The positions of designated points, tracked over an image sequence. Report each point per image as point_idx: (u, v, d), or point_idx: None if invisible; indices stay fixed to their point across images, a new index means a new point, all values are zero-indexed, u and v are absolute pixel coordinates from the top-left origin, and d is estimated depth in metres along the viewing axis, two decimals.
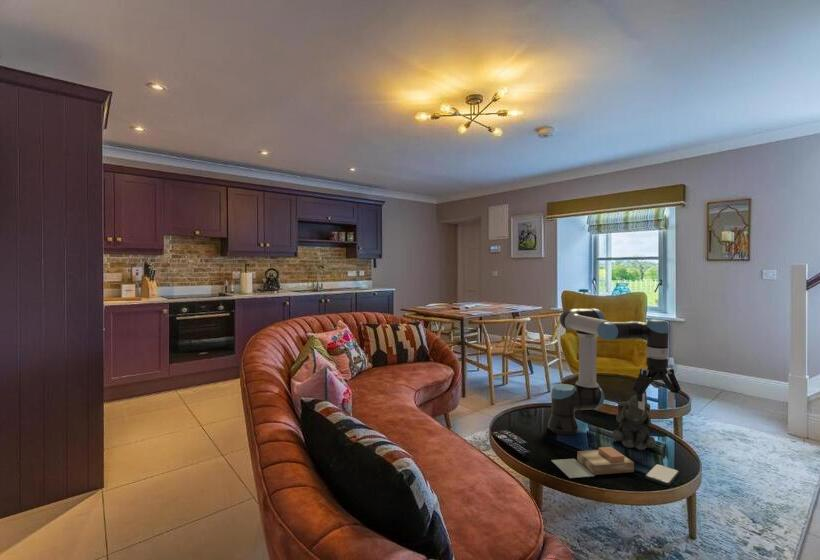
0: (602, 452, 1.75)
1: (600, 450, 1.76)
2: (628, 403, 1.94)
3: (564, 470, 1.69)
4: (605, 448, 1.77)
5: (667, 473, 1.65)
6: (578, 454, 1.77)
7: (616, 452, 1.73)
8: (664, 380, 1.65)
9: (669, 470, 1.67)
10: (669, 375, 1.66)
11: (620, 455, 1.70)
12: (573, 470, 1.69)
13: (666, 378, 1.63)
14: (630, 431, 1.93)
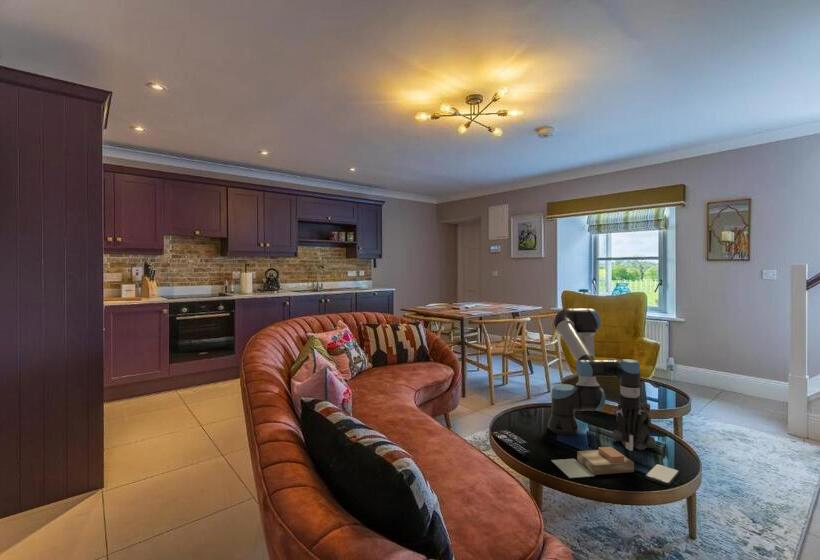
0: (602, 452, 1.75)
1: (600, 450, 1.76)
2: None
3: (564, 470, 1.69)
4: (605, 448, 1.77)
5: (667, 473, 1.65)
6: (578, 454, 1.77)
7: (616, 452, 1.73)
8: (631, 418, 1.74)
9: (669, 470, 1.67)
10: (637, 416, 1.75)
11: (620, 455, 1.70)
12: (573, 470, 1.69)
13: (635, 417, 1.73)
14: None
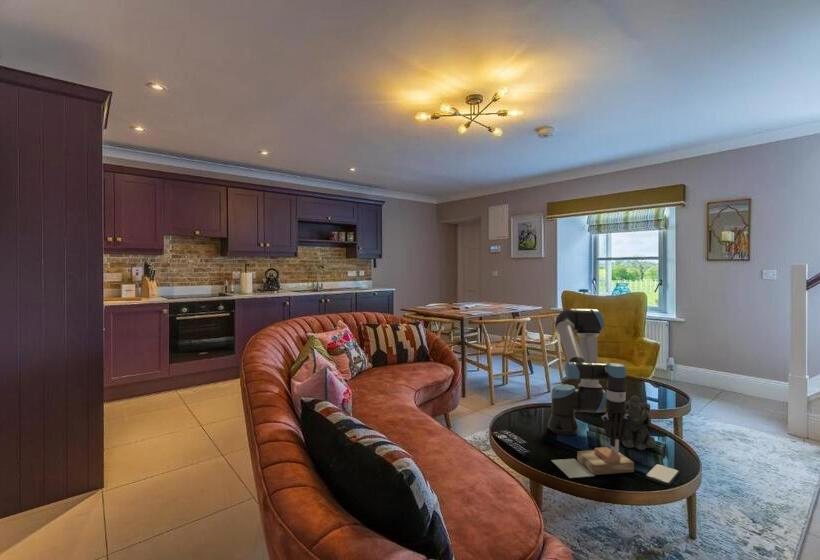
0: (598, 452, 1.74)
1: (596, 450, 1.76)
2: (628, 403, 1.94)
3: (564, 470, 1.69)
4: (601, 448, 1.76)
5: (667, 473, 1.65)
6: (578, 454, 1.77)
7: (612, 452, 1.73)
8: (617, 423, 1.73)
9: (669, 470, 1.67)
10: (623, 420, 1.75)
11: (616, 455, 1.70)
12: (573, 470, 1.69)
13: (620, 421, 1.72)
14: (630, 431, 1.93)
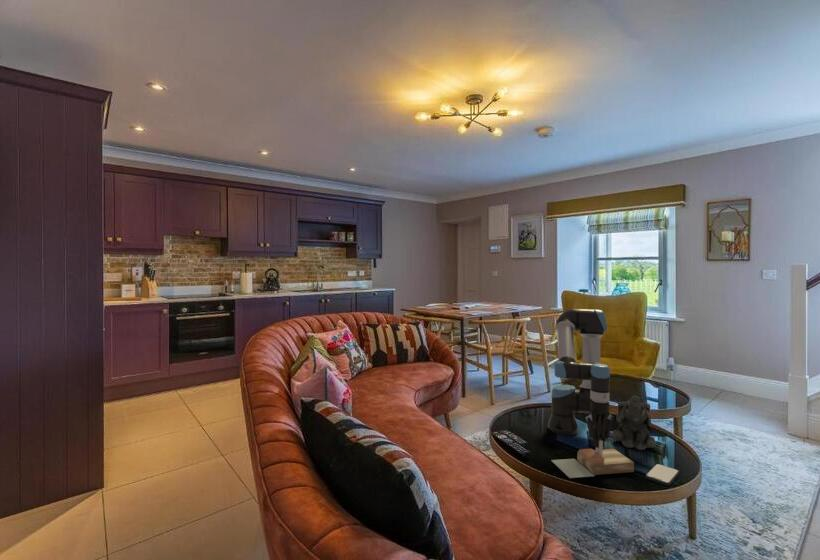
0: (582, 454, 1.73)
1: (580, 452, 1.74)
2: (628, 403, 1.94)
3: (564, 470, 1.69)
4: (585, 450, 1.75)
5: (667, 473, 1.65)
6: (578, 454, 1.77)
7: (596, 454, 1.71)
8: (601, 423, 1.72)
9: (669, 470, 1.68)
10: (607, 421, 1.73)
11: (600, 457, 1.68)
12: (573, 470, 1.69)
13: (604, 422, 1.71)
14: (630, 431, 1.93)
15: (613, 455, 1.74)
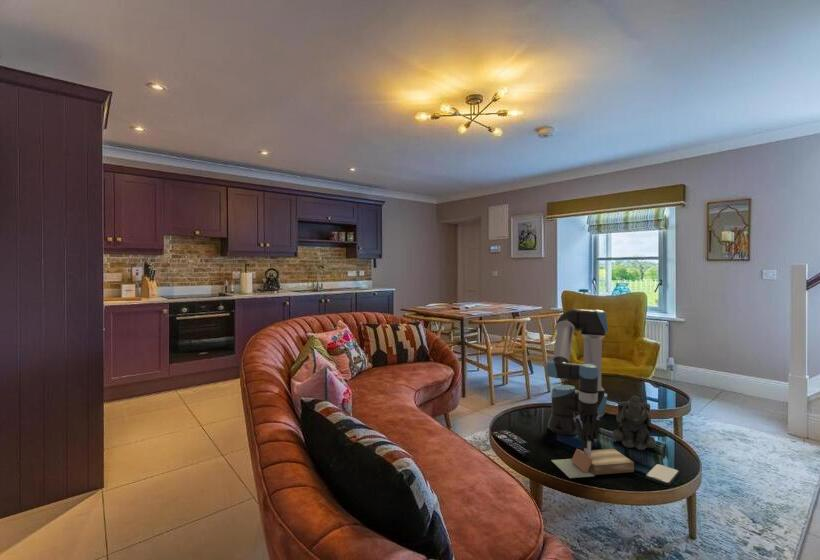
0: None
1: (574, 463, 1.74)
2: (628, 403, 1.94)
3: (564, 470, 1.69)
4: (575, 457, 1.74)
5: (667, 473, 1.65)
6: None
7: (582, 456, 1.70)
8: (589, 424, 1.71)
9: (669, 470, 1.68)
10: (596, 421, 1.73)
11: (586, 460, 1.67)
12: (573, 470, 1.69)
13: (592, 423, 1.70)
14: (630, 431, 1.93)
15: (613, 455, 1.74)
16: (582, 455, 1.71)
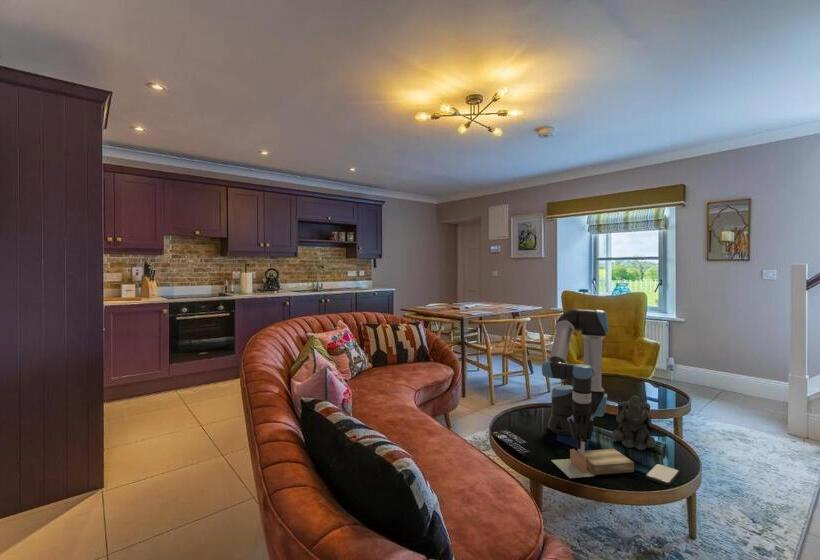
0: None
1: None
2: (628, 403, 1.94)
3: (564, 470, 1.69)
4: (571, 458, 1.74)
5: (667, 473, 1.65)
6: None
7: (577, 458, 1.70)
8: (583, 425, 1.71)
9: (669, 470, 1.68)
10: (589, 422, 1.72)
11: (581, 461, 1.67)
12: (573, 470, 1.69)
13: (586, 423, 1.70)
14: (630, 431, 1.93)
15: (613, 455, 1.74)
16: (576, 456, 1.70)
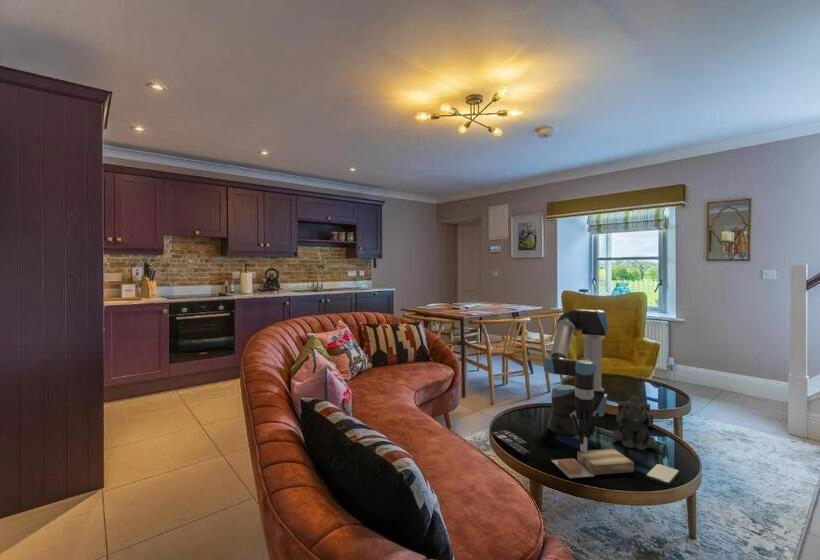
0: None
1: None
2: (628, 403, 1.94)
3: (564, 470, 1.69)
4: None
5: (667, 473, 1.65)
6: (578, 454, 1.77)
7: None
8: (586, 420, 1.71)
9: (669, 470, 1.68)
10: (592, 417, 1.72)
11: None
12: None
13: (589, 419, 1.70)
14: (630, 431, 1.93)
15: (613, 455, 1.74)
16: None
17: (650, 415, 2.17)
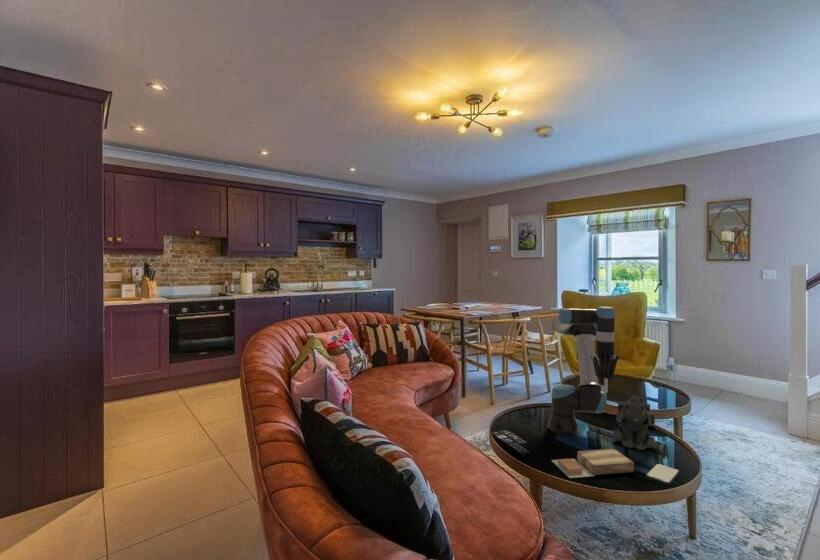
0: None
1: None
2: (628, 403, 1.94)
3: (564, 470, 1.69)
4: None
5: (667, 473, 1.65)
6: (578, 454, 1.77)
7: None
8: (606, 362, 1.82)
9: (669, 470, 1.68)
10: (612, 360, 1.83)
11: None
12: None
13: (609, 361, 1.80)
14: (630, 431, 1.93)
15: (613, 455, 1.74)
16: None
17: (652, 415, 2.17)
